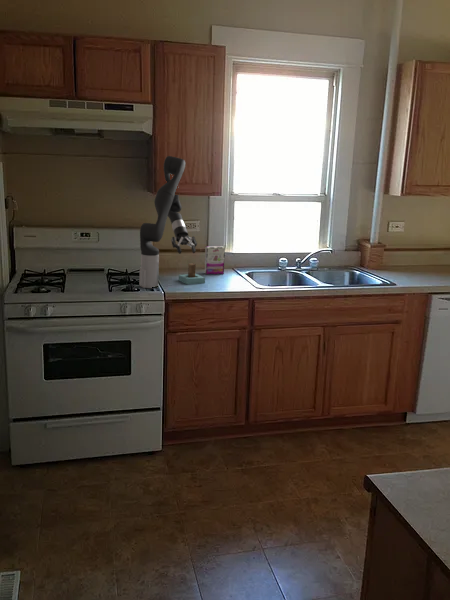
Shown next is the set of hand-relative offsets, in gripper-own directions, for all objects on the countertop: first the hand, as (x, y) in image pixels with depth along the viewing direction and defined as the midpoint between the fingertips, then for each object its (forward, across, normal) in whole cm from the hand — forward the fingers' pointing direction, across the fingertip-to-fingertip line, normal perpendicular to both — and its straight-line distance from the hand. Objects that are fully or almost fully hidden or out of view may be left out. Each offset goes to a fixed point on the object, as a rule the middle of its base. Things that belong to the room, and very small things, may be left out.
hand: (187, 252), depth 318 cm
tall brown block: (+15, 0, +6) cm, 17 cm away
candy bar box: (+4, +23, +18) cm, 29 cm away
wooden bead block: (+16, 0, +6) cm, 17 cm away
